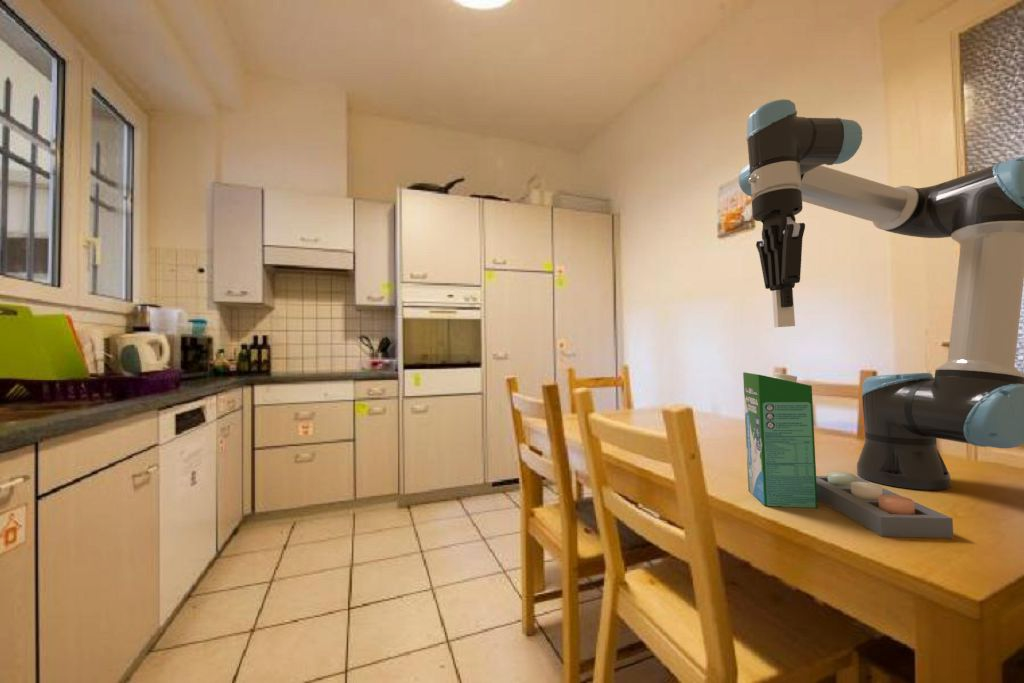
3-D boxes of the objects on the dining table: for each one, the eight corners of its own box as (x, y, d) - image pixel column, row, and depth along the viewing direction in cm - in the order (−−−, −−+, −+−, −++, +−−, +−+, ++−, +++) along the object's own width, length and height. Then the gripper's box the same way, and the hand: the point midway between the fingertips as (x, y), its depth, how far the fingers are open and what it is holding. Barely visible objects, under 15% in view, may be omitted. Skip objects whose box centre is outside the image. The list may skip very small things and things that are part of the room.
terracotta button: (901, 511, 72) (900, 494, 72) (922, 522, 67) (921, 503, 67) (872, 511, 72) (871, 494, 72) (892, 521, 68) (891, 503, 68)
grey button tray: (803, 490, 88) (803, 475, 88) (856, 490, 87) (855, 476, 87) (881, 536, 66) (880, 517, 67) (953, 538, 65) (952, 518, 65)
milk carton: (818, 508, 79) (811, 373, 79) (764, 506, 80) (758, 374, 81) (796, 492, 87) (790, 370, 88) (748, 490, 89) (742, 371, 90)
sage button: (846, 485, 86) (846, 471, 86) (861, 492, 81) (861, 477, 81) (823, 485, 86) (822, 471, 86) (836, 492, 82) (836, 477, 82)
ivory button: (871, 497, 79) (870, 481, 79) (889, 506, 74) (888, 489, 74) (845, 497, 79) (845, 481, 79) (862, 505, 75) (861, 489, 75)
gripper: (739, 208, 82) (747, 329, 82) (769, 182, 70) (779, 326, 69) (780, 204, 81) (789, 327, 81) (819, 177, 68) (829, 323, 68)
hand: (784, 326), depth 75 cm, fingers closed
